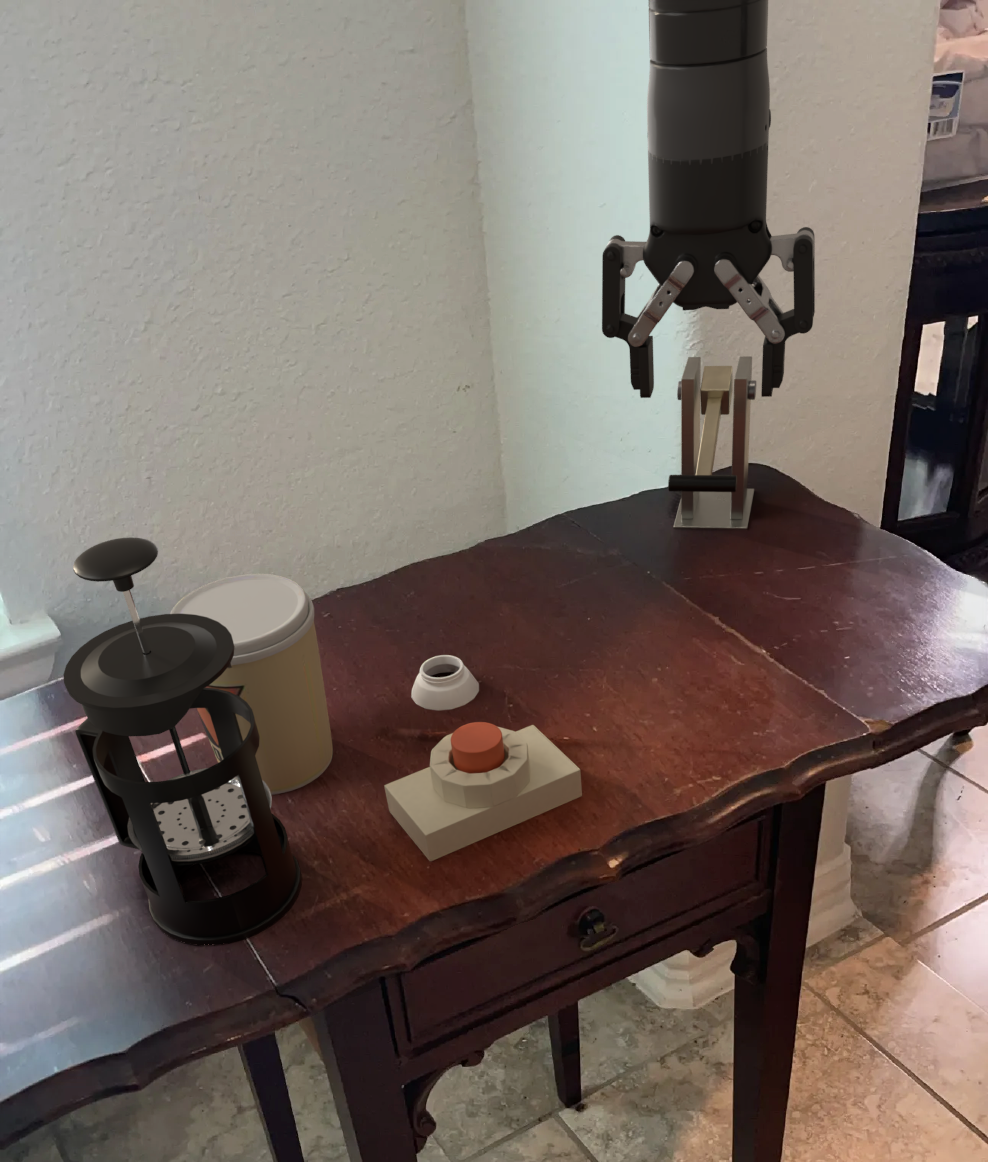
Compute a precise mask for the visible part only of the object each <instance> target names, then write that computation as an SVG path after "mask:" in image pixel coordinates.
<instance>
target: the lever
mask: <svg viewBox="0 0 988 1162" xmlns="http://www.w3.org/2000/svg"><path fill="white" fill-rule="evenodd" d="M733 369H734V367H733V365H704V366H703V371H702V379H701V384H700V415H701V416H704V419H703V426H702V432H701V437H700V450H699V457H698V463H697V470H696V475H681V474H669V475H668V482H667V489H668V492H673V493H675V492H677V493H678V492H680V493H681V492H736V489H737V476H736V475H731V474H713V471H714V463H715V459H716V452H717V445H718V444H717V443H718V436H719V430H720V425H721V418H722V417H721V416H723V415H724V416H727V415H730V411H731V405H732V399H733V398H732V397H733V392H734V377H733V376H734V375H733Z"/></svg>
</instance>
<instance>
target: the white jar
mask: <svg viewBox="0 0 988 1162" xmlns="http://www.w3.org/2000/svg"><path fill="white" fill-rule="evenodd" d="M444 673H451V674H450V675H447V676H440V677H435V676H436V675H438V674H444ZM479 692H480V683H479V682H478V680H477V679H476V677H475V676H474V675H473V674H472V672H471V671H470V670H469V668H468V667H467V666H466V665H465V664H464V662H463V660H461V658H459V657H457V656H455V655H451V654H450V655H449V654H441V655H440V654H439V655H435V656H433V657H430V658H428V659H427V660H425V661H424V662H423V663H422V664H421V665H420V668H419V672H418V674H417V675H416V677H415V680H414V682H413V686H412V688H411V695H410V697H411V699H412V700H413V702H414V703H415V705H417V706H419V707H421V708H424V709H425V710H431V711H449V710H454V709H457V708H460V707H463V706H466V705H467V704H468V703H470V702H472V701H473V700H474V699H475V698H476V696H477V695H478V694H479Z"/></svg>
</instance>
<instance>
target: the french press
mask: <svg viewBox="0 0 988 1162" xmlns="http://www.w3.org/2000/svg"><path fill="white" fill-rule="evenodd" d="M158 555H159V549H158V547H157V545H156V544H155V543H154V542H153V541H151V540H149V539H146V538H142V537H133V536H132V537H131V536H129V537H119V538H113V539H108V540H107V541H103V542H100V543H97V544H94V545H93V546H91V547H88V549H86V550H84V551H83V552H82V553H80V554H79V555H78V556H77V558H76V559H75V561H74V562H73V566H72V567H73V568H72V569H73V572H74V574H75V575H76V576H77V577H78V578H79V579H82V580H84V581H88V582H89V581H90V582H111V581H112V582H113V585H114V587H115V590H116V591H117V592H119V593H122V594H123V597H124V600H125V603H126V606H127V608H128V612H129V615H130V618H131V620H129V621H128V622H124V623H120V624H118V625H116V626H113V627H112V628H108V629H107V630H104V631H103V632H101V633H99V634H98V635H95V636H94V637H93V638H91V639H89V640H88V641H86V642H85V643H84V644H83V645H82V646H80V647H79V648H78V649H77V650H76V651H75V652H74V653H73V655H71V657H70V659H69V660H68V662H67V663H66V665H65V668H64V671H63V684H64V687H65V690H66V691H67V693H68V695H69V696H70V697H71V698H72V699H73V700H74V701H75V702H76V703H78V704H80V705H81V706H82V709H83V711H84V714H85V716H86V717H87V718H85V720H84V721H82V722H81V723H80V724H79V726H77V727H76V729H75V736H76V738H77V740H78V743H79V746H80V748H81V751H82V753H83V756H84V758H85V761H86V763H87V766H88V768H89V771H90V774H91V776H92V778H93V780H94V783H95V786H96V788H97V791H98V793H99V796H100V799H101V801H102V803H103V807H104V809H105V811H106V813H107V816H108V819H109V822H110V823H111V826H112V829H113V831H114V834H115V836H116V839H117V841H118V843H119V844H120V846H123V847H126V848H129V849H130V848H131V849H135V850H139V851H140V853H141V854H140V856H139V860H138V875H139V879H140V881H141V884H142V886H143V888H144V891H145V893H146V896H147V899H148V909H149V914H150V916H151V919H152V920H153V923H154V925H155V924H156V925H157V926H156V925H155V926H156V927H157V928H158V929H159V931H161V933H163V934H164V933H165V934H164V935H166V936H167V935H168V936H167V937H169V938H171V939H172V940H174V939H176V940H175V941H177V940H178V941H177V942H180V941H182V942H181V943H183V942H185V943H184V944H186V943H191V944H190V945H192V944H197V945H196V946H199V945H202V946H204V944H205V945H208V944H209V945H212V944H221V945H224V944H223V943H228V944H232V943H236V942H239V941H243V940H247V939H248V938H252V937H253V936H256V935H258V934H261V932H263V931H265V930H267V929H268V928H270V927H272V926H273V925H274V924H276V923H277V922H278V921H280V920H281V919H282V918H283V917H284V916H285V915H286V914H287V913H288V912H289V910H291V908H292V907H293V906H294V904H295V902H296V901H297V899H298V897H299V895H300V891H301V888H302V879H303V878H302V877H303V874H302V871H301V867H300V862H299V861H298V859H297V857H296V856H295V855H294V853H293V851H292V848H291V844H290V841H289V838H288V834H287V830H286V827H285V826H284V824H283V822H282V821H281V820H280V819H279V818H278V817H277V816H276V815H275V814H273V812H272V810H271V808H272V799H273V796H272V795H271V793H270V789H269V788H268V786H267V785H266V783H265V782H264V781H263V780H262V778H261V774H260V771H259V767H258V764H257V760H256V757H255V755H256V752H257V750H258V747H259V739H260V736H259V733H258V729H257V725H256V722H255V718H254V715H253V711H252V709H251V707H250V706H249V704H248V703H247V702H246V701H245V700H243V699H242V698H241V697H239V696H237V695H235V694H233V693H231V692H228V691H224V690H220V689H215V688H205V687H207V686H208V685H210V684H211V683H213V682H214V681H215V680H216V679H217V678H218V677H219V676H221V675H222V674H223V672H224V671H225V670H226V669H227V667H228V668H232V666H231V660H232V658H233V656H234V648H235V646H234V643H233V639H232V635H231V633H230V632H229V631H228V629H227V628H226V627H225V626H223V625H222V624H221V623H219V622H218V621H215V620H213V619H210V618H208V617H204V616H199V615H193V614H170V613H164V614H156V615H149V616H145V617H140V616H139V613H138V610H137V607H136V604H135V601H134V597H133V595H132V592H131V590H132V589H134V587H135V583H134V580H133V576H134V575H136V574H138V573H140V572H142V571H144V570H145V569H147V568H148V567H150V566H151V565H152V564H153V563H154V562H155V561H156V560H157V558H158ZM196 708H208V710H209V713H210V716H211V720H212V723H213V726H214V729H215V733H216V736H217V739H218V742H219V746H220V749H221V752H222V756H223V760H222V761H220V762H219V763H218V762H217V763H215V764H213V765H211V766H210V767H205V768H198V769H194V770H190V768H189V765H188V761H187V758H186V755H185V753H184V749H183V745H182V743H181V740H180V737H179V734H178V731H177V728H176V726H177V725H178V724H179V723H180V721H181V720H182V719H183V718H184V717H185V716H186V715H187V713H188V712H189V711H190V710H191V709H196ZM236 714H238V715H240V716H242V717H243V718H244V719H246V720H247V721H248V722H249V723H250V724H251V726H250V729H249V732H248V734H247V737H246V738H245V739H244V741H243V738H242V735H241V732H240V728H239V725H238V721H237V718H236ZM167 731H169V734H170V738H171V740H172V743H173V746H174V748H175V751H176V755H177V758H178V760H179V763H180V767H181V769H182V772H183V773H180V774H178V775H175V776H172V777H171V778H169V779H166V780H160V781H146V780H145V776H144V774H143V771H142V769H141V766H140V764H139V761H138V758H137V755H136V753H135V750H134V747H133V744H132V741H131V739H130V737H148V736H153V735H154V736H156V735H160V734H162V733H165V732H167ZM235 852H247V853H248V852H249V853H254V854H258V855H260V857H261V861H262V864H263V869H264V871H265V874H264V875H262V877H260V878H259V879H258V880H256V881H255V882H253V883H252V884H250V885H248V886H247V887H244V888H243V889H240V890H238V891H235V892H233V893H231V894H227V895H223V896H220V897H216V898H210V899H203V900H186V895H185V893H184V891H183V888H182V885H181V881H180V879H179V878H180V877H181V876H182V875H183V874H184V873H185V872H186V871H187V870H189V869H190V868H192V867H193V866H194V865H199V864H205V863H209V862H212V861H216V860H219V859H222V858H225V857H227V856H229V855H232V854H233V853H235Z"/></svg>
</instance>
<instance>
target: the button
mask: <svg viewBox="0 0 988 1162" xmlns="http://www.w3.org/2000/svg"><path fill="white" fill-rule="evenodd" d="M498 727H499V726H497V725H495V724H494V723H491V722H485V721H473V722H470V723H466V724H463V725H461V726H460V727H458V728H456V729H455V730H454V731H453V732H452V733H453V734H452V733H451V734H452V736H451V747H452V753H453V760H454V764H455V766H456V768H457V769H458V770H460V771H462V772H466V773H469V774H471V773H486V772H489V771H491V770H493V769H496V768H498V767H500V766H501V765H502V763H503V762H504V759H505V754H504V746H503V737H502V732H501V730H500V729H499V728H498Z"/></svg>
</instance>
